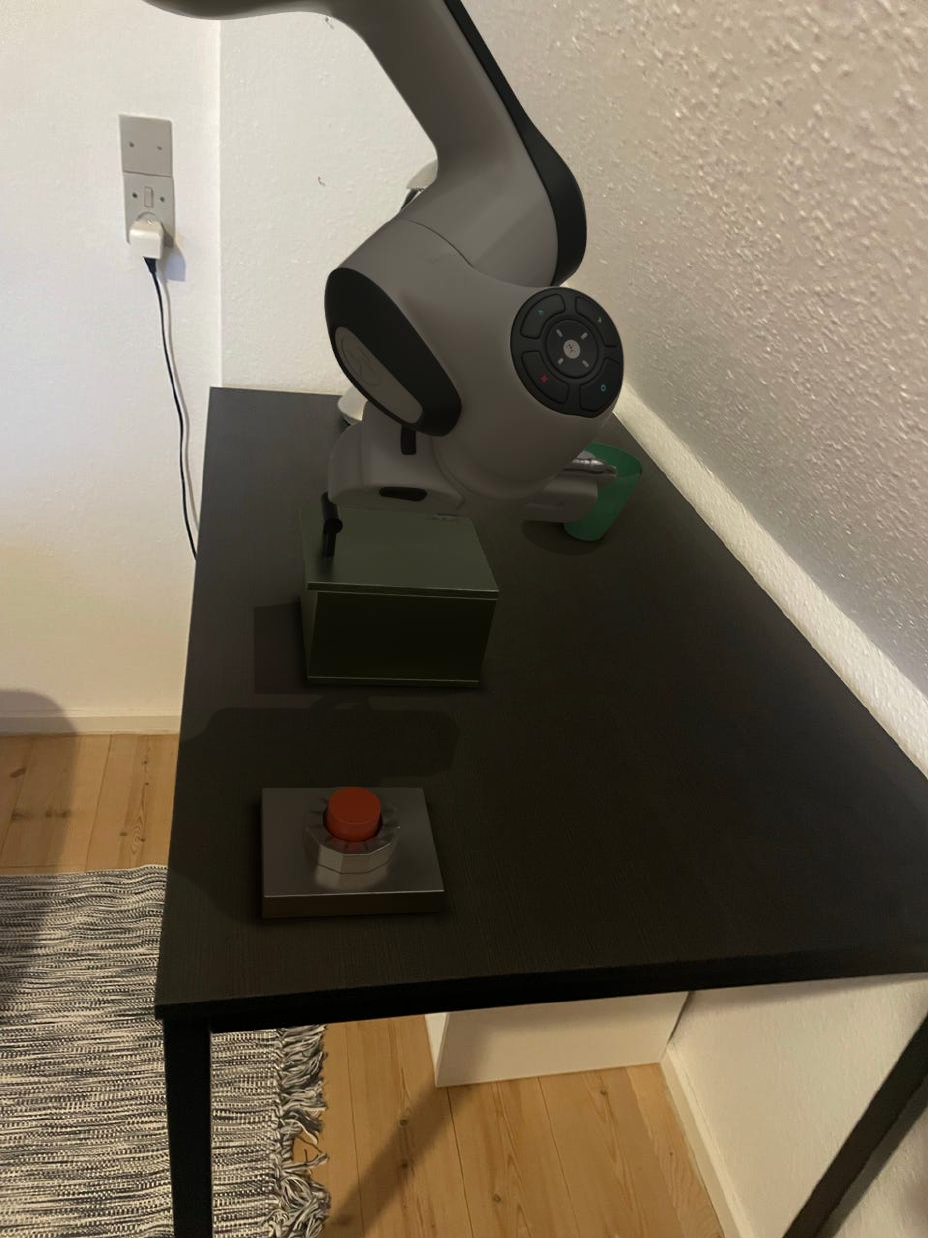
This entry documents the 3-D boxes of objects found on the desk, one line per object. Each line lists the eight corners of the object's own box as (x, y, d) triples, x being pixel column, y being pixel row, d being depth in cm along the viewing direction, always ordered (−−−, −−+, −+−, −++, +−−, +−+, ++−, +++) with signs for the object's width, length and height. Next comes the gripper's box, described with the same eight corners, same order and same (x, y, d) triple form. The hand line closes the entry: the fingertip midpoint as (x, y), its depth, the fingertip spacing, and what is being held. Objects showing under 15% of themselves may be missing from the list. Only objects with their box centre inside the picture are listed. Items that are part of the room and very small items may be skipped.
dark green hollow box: (307, 684, 84) (317, 590, 78) (300, 600, 94) (308, 513, 89) (477, 688, 87) (497, 599, 82) (451, 606, 98) (468, 524, 93)
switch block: (262, 919, 62) (265, 878, 60) (260, 809, 70) (263, 769, 68) (439, 912, 65) (449, 873, 63) (418, 807, 73) (426, 769, 71)
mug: (633, 552, 116) (656, 478, 111) (559, 549, 113) (579, 474, 108) (591, 497, 128) (610, 428, 122) (523, 493, 125) (540, 422, 119)
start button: (328, 842, 64) (330, 824, 63) (324, 804, 67) (326, 786, 66) (380, 842, 65) (383, 823, 64) (375, 804, 68) (378, 786, 67)
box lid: (306, 590, 78) (310, 541, 76) (299, 512, 89) (303, 467, 87) (497, 598, 82) (508, 553, 80) (468, 523, 93) (476, 481, 91)
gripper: (625, 424, 68) (558, 485, 82) (343, 394, 63) (320, 464, 76) (628, 508, 67) (560, 556, 80) (341, 484, 62) (318, 540, 75)
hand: (441, 511), depth 78 cm, fingers closed
